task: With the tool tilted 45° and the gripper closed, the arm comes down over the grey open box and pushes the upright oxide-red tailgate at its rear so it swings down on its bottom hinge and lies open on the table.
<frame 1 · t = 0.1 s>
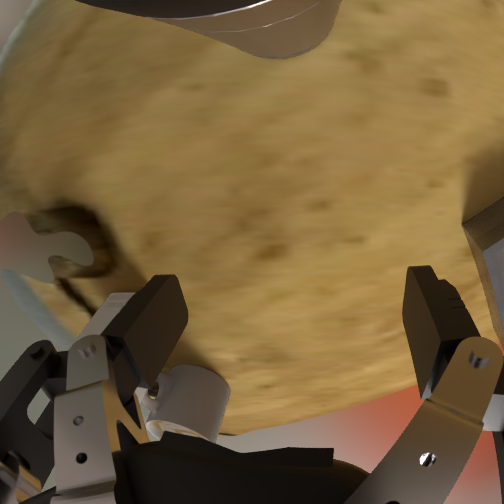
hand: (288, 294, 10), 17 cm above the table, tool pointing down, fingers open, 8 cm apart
supplement box: (143, 312, 39), on the table
coffee mug: (192, 376, 44), on the table
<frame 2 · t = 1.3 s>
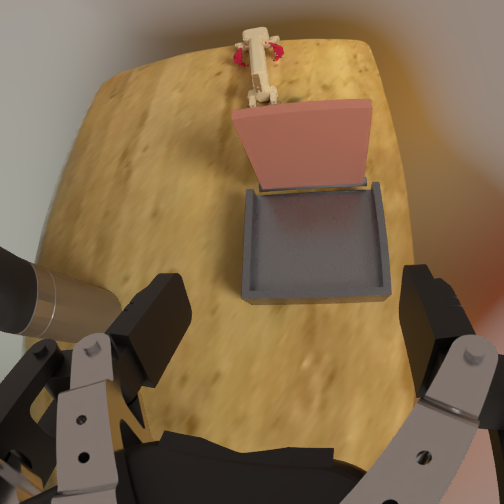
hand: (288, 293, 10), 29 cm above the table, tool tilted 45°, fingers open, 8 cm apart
tailgate: (308, 150, 33), point 11 cm above the table, hinge at 0.0°
grey open box: (316, 250, 40), on the table
cream blocky figure: (262, 71, 54), on the table
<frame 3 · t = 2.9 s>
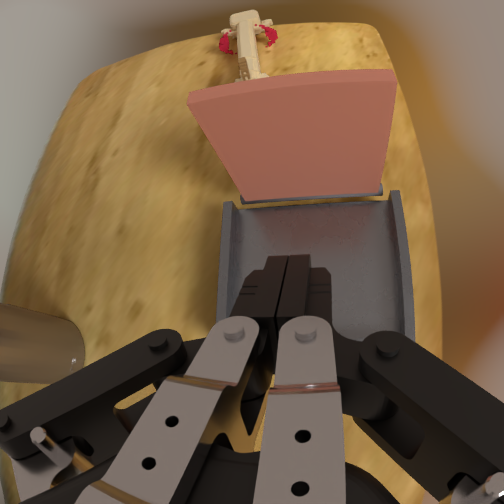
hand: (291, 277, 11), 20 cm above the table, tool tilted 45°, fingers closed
tailgate: (303, 147, 23), point 11 cm above the table, hinge at 0.0°
grey open box: (316, 280, 31), on the table
cream blocky figure: (252, 58, 45), on the table
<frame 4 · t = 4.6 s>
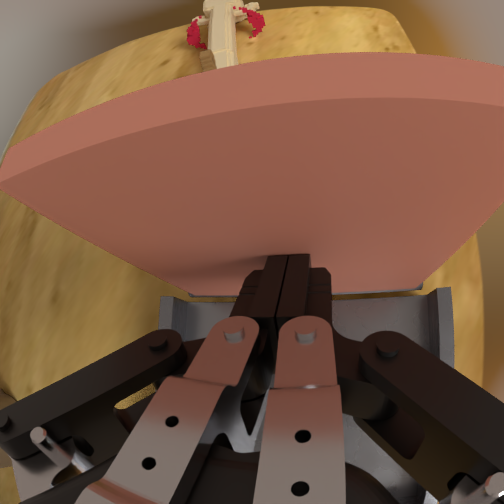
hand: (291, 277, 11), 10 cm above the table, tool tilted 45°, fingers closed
tailgate: (286, 235, 12), point 11 cm above the table, hinge at 0.5°, touching gripper
grey open box: (306, 408, 19), on the table
cream blocky figure: (231, 53, 33), on the table
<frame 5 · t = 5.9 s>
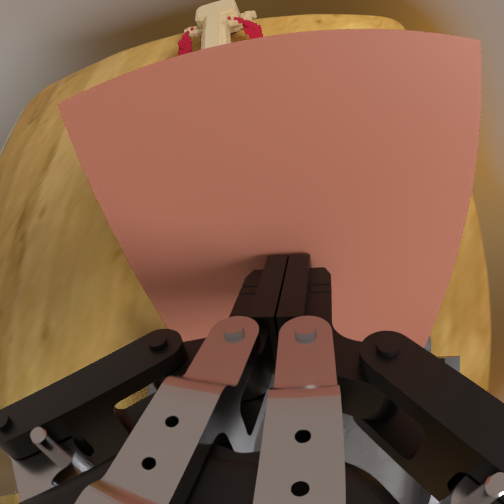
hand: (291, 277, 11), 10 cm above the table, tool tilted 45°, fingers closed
tailgate: (287, 247, 12), point 10 cm above the table, hinge at 31.3°, touching gripper
grey open box: (302, 462, 17), on the table
cream blocky figure: (226, 68, 31), on the table
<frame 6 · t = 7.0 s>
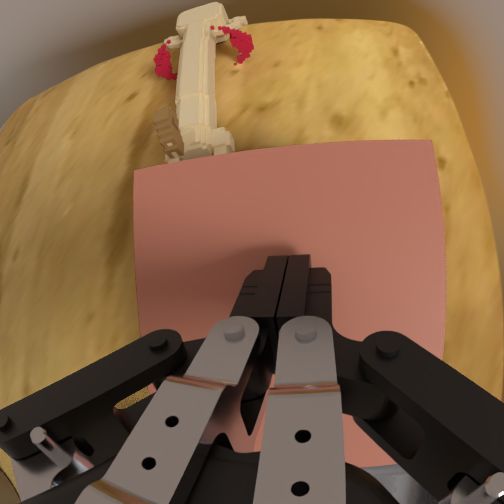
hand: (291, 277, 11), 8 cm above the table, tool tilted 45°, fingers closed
tailgate: (287, 334, 13), point 6 cm above the table, hinge at 72.5°
cream blocky figure: (210, 87, 27), on the table
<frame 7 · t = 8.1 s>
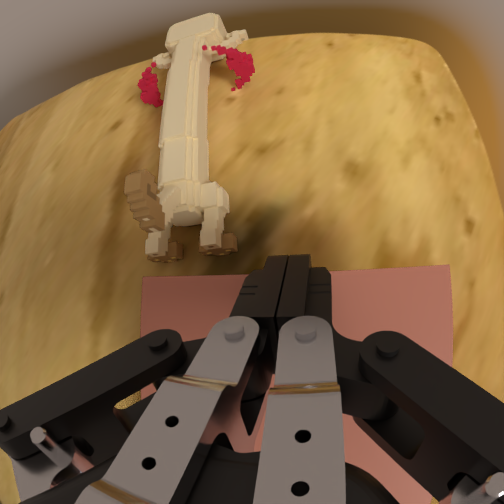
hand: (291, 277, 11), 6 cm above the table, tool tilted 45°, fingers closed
tailgate: (288, 450, 11), point 4 cm above the table, hinge at 84.7°
cream blocky figure: (204, 118, 24), on the table
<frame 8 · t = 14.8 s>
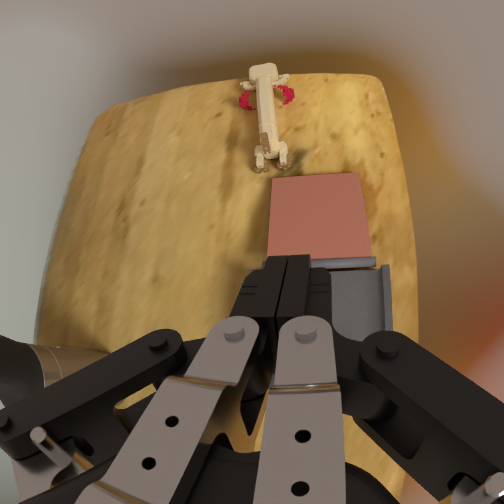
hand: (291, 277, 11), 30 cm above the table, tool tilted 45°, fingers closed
tailgate: (318, 219, 42), point 2 cm above the table, hinge at 102.4°
grey open box: (321, 330, 39), on the table
cream blocky figure: (270, 116, 52), on the table
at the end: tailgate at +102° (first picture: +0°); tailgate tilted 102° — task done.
